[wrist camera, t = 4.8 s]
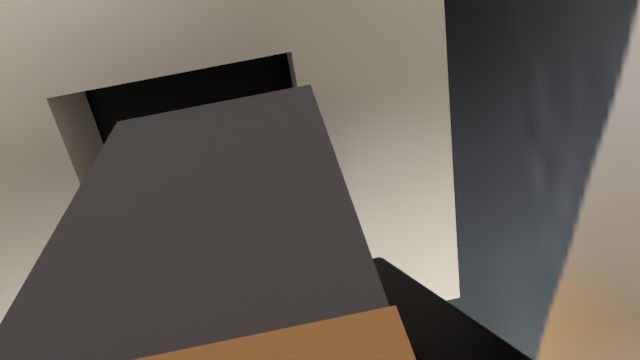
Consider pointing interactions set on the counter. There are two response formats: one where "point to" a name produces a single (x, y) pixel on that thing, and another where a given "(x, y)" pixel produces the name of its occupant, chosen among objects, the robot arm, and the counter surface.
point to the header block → (224, 48)
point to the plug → (209, 247)
